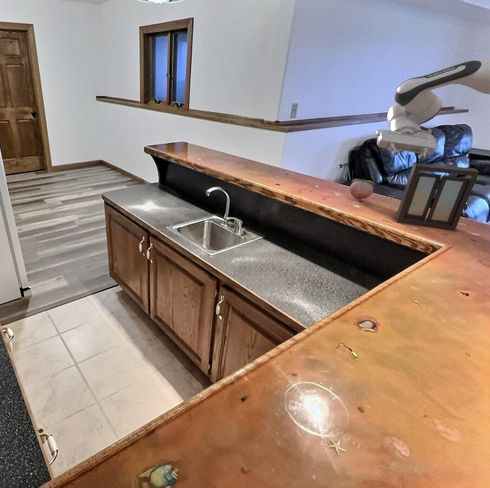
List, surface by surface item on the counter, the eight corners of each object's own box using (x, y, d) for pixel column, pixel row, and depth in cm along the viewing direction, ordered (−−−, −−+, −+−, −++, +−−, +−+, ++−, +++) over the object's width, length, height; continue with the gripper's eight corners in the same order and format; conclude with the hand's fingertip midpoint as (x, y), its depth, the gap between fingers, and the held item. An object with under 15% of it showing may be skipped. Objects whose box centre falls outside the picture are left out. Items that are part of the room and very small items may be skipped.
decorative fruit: (370, 198, 156) (376, 177, 152) (370, 204, 150) (376, 181, 145) (347, 195, 160) (353, 174, 156) (346, 200, 154) (351, 178, 149)
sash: (422, 215, 134) (438, 172, 127) (425, 219, 131) (441, 175, 123) (401, 212, 137) (415, 169, 130) (403, 216, 133) (417, 172, 126)
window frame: (451, 225, 130) (474, 168, 120) (454, 230, 125) (479, 171, 116) (395, 217, 136) (413, 162, 127) (397, 222, 132) (416, 165, 123)
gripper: (379, 122, 137) (384, 144, 129) (435, 130, 134) (443, 153, 126) (372, 135, 142) (375, 157, 134) (425, 143, 139) (432, 166, 132)
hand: (409, 155), depth 130 cm, fingers open, 8 cm apart
